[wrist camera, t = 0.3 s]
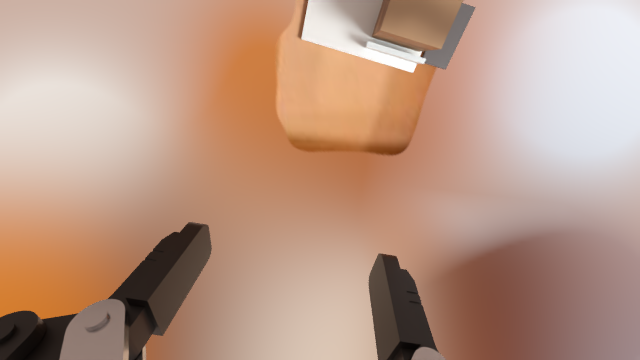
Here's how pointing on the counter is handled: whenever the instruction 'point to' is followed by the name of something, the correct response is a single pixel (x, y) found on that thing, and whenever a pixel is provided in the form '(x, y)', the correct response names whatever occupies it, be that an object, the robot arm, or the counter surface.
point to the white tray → (357, 28)
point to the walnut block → (416, 23)
